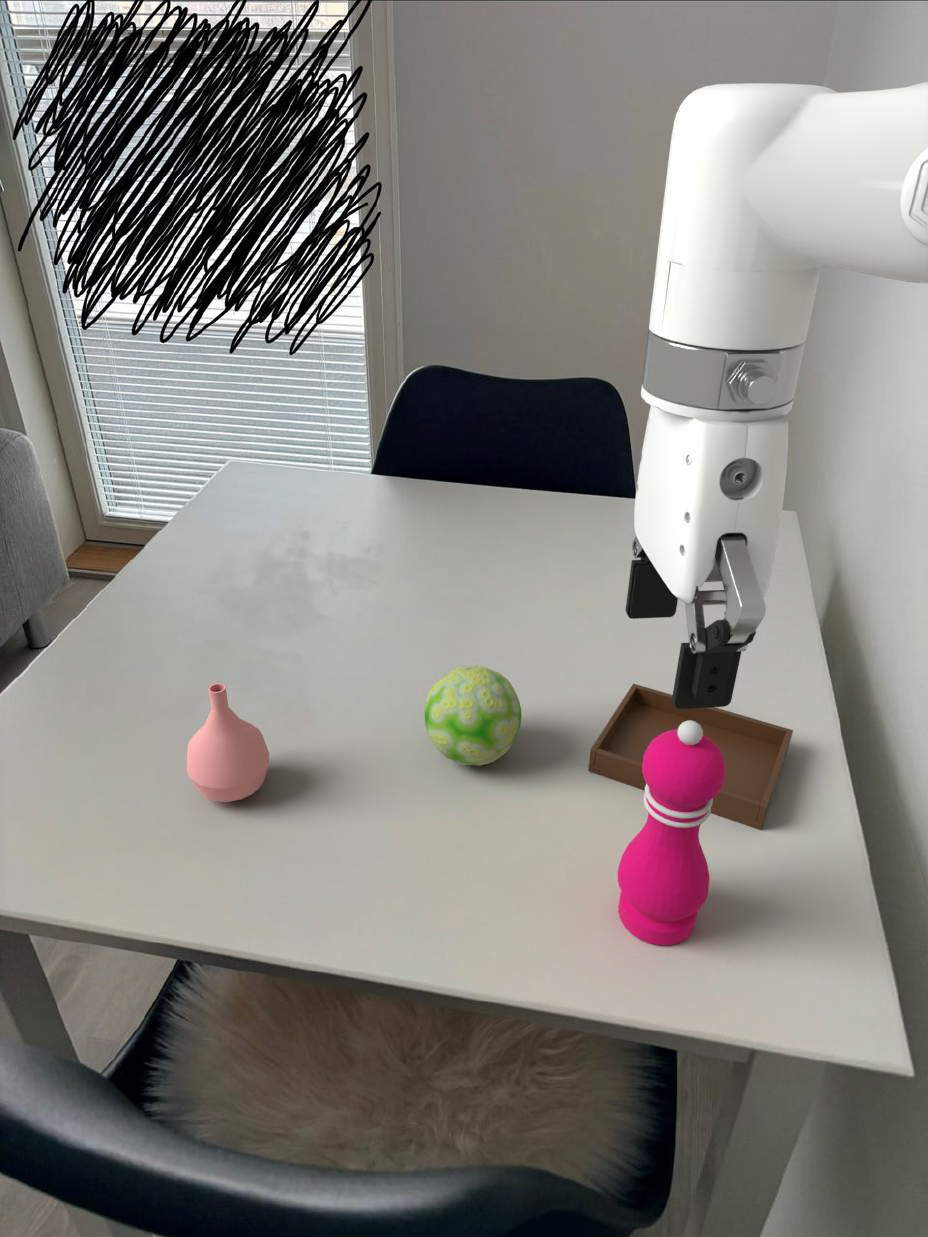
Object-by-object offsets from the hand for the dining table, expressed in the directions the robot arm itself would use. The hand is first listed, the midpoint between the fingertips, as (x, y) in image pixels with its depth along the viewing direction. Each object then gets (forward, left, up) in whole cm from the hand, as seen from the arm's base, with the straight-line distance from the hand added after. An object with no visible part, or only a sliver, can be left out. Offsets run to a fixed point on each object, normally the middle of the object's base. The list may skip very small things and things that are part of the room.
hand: (673, 656), depth 53 cm
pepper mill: (-1, -7, -30) cm, 30 cm away
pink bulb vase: (+40, -2, -30) cm, 50 cm away
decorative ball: (+22, -18, -30) cm, 41 cm away
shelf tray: (+2, -28, -29) cm, 41 cm away
